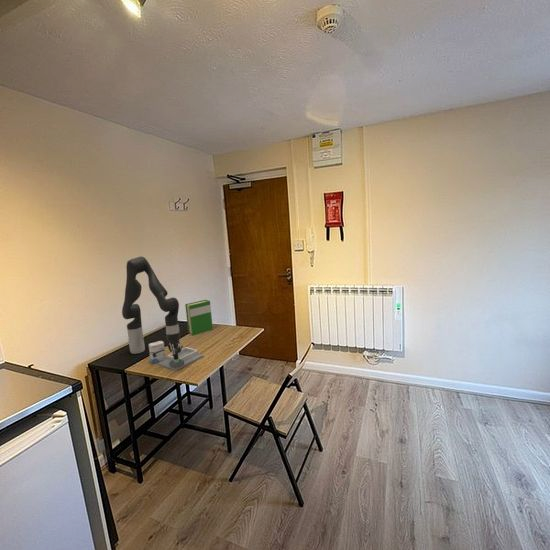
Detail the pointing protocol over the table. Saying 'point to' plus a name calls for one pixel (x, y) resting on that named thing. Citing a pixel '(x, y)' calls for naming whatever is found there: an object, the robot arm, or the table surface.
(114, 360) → the table surface
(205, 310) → the hardback book
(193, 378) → the table surface
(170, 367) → the grey tray
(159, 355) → the ink box
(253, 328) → the table surface
